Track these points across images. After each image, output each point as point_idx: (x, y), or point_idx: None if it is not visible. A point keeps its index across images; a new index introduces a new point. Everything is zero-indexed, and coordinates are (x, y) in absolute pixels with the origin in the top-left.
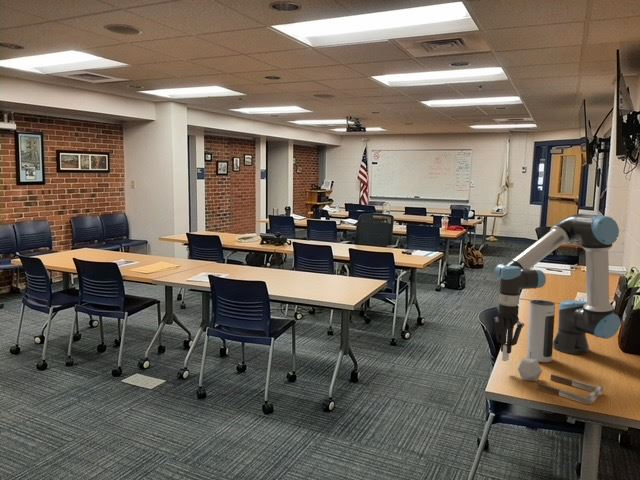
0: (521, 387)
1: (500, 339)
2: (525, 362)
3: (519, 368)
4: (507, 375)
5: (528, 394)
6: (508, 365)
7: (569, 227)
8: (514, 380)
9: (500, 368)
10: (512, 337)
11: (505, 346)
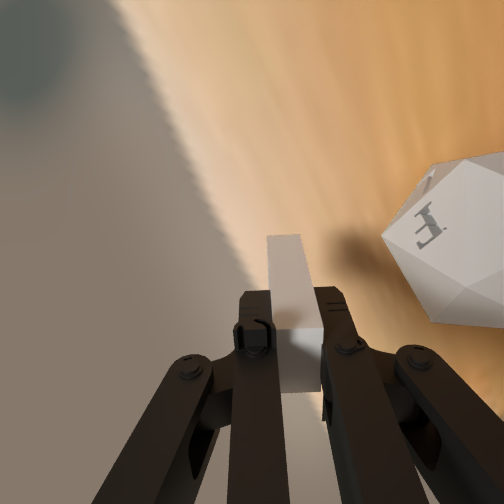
0: (443, 340)
1: (217, 419)
2: (495, 315)
3: (434, 322)
4: (317, 254)
5: (493, 381)
6: (225, 59)
7: None
8: (381, 289)
9: (221, 178)
10: (399, 434)
11: (305, 384)
